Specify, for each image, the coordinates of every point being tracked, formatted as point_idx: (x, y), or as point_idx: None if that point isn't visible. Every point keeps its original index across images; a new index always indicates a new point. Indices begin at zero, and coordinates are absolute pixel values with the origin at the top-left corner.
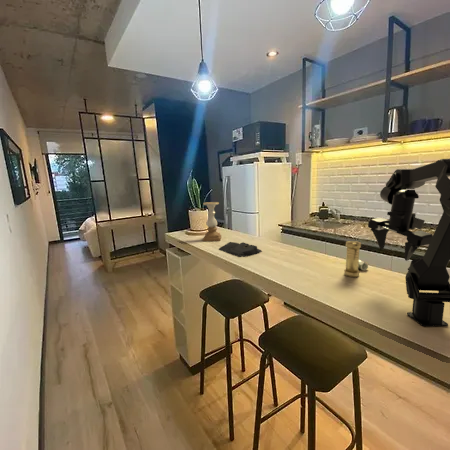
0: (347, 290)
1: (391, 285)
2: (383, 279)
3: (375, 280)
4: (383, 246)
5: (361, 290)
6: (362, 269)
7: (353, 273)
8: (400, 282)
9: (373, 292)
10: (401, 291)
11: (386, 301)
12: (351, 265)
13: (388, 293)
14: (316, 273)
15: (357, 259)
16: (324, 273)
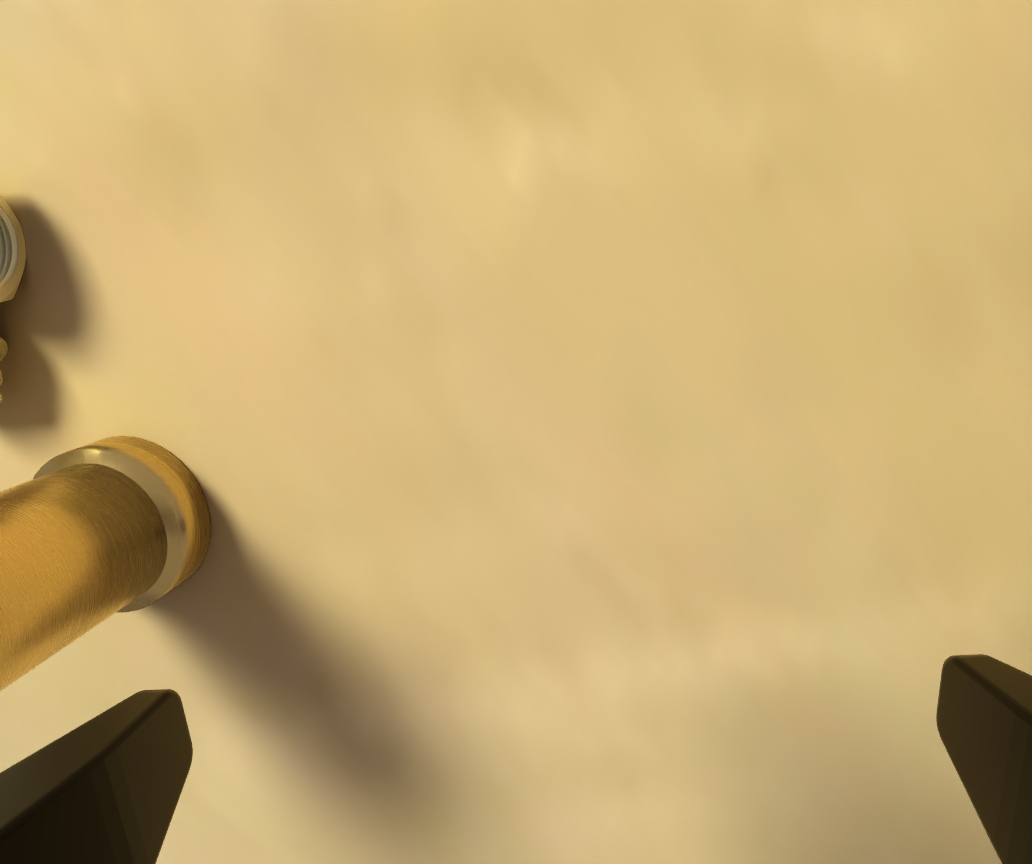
0: (490, 859)
1: (532, 345)
2: (346, 272)
3: (347, 394)
4: (140, 767)
5: (535, 750)
6: (16, 278)
7: (175, 574)
8: (491, 143)
9: (619, 688)
10: (716, 391)
11: (843, 753)
12: (80, 635)
13: (700, 573)
14: None
15: (14, 609)
16: (47, 732)
